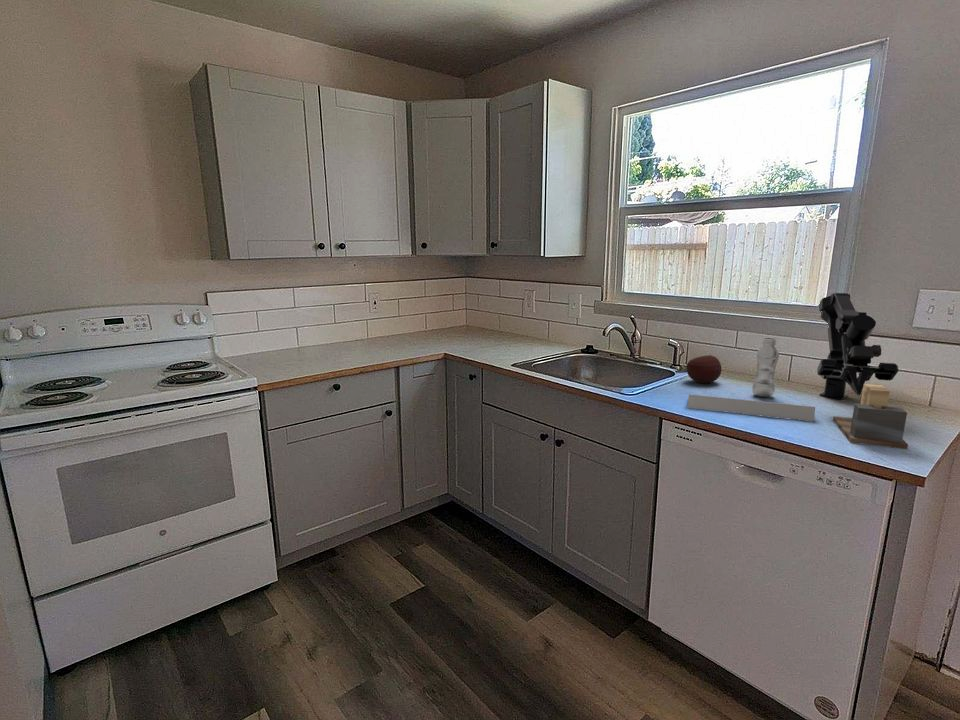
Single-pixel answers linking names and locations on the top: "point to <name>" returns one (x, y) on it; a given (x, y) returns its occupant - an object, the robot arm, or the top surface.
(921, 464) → the top surface
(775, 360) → the plastic bottle
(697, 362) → the potato
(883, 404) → the pale yellow box
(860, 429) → the walnut sill
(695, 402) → the decorative molding
